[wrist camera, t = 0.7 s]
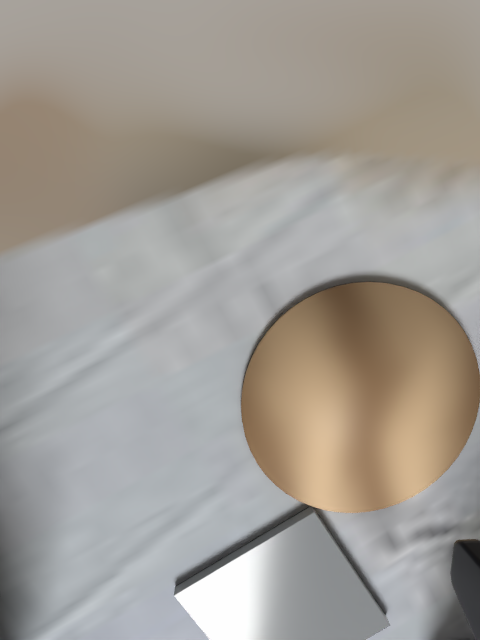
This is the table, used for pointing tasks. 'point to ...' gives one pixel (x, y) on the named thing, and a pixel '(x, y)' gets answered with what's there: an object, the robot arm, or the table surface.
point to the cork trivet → (360, 397)
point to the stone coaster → (284, 589)
